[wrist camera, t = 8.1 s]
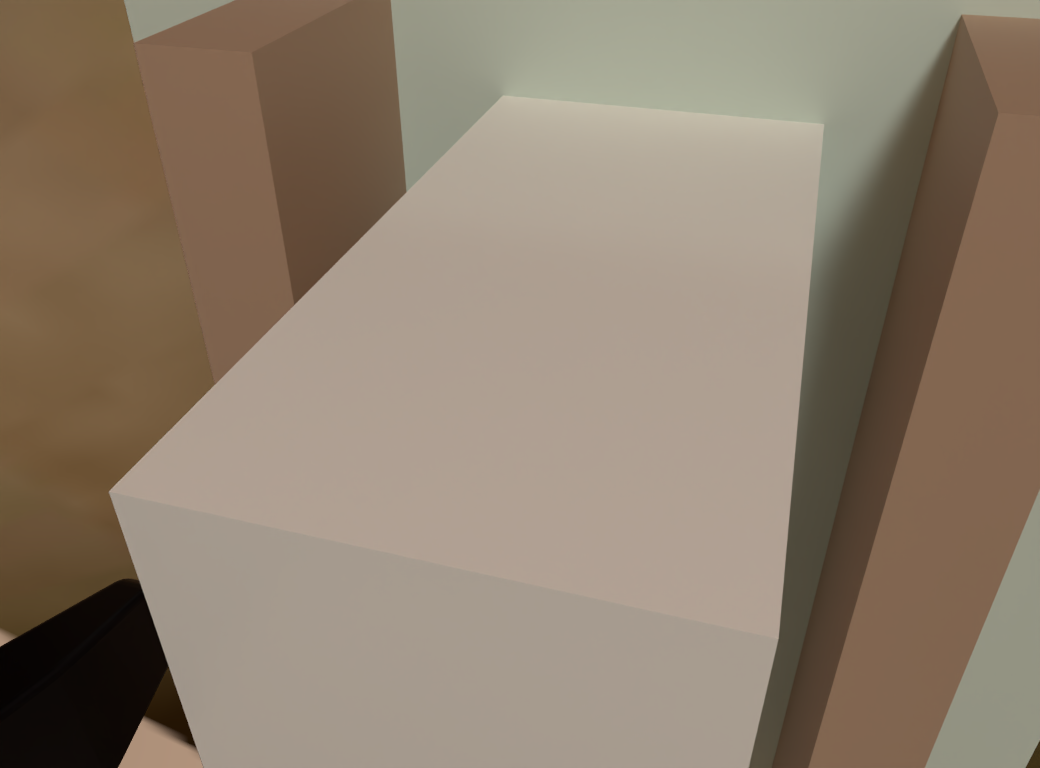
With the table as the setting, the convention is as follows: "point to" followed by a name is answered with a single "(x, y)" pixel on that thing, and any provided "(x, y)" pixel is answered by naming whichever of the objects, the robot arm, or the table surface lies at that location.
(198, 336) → the table surface
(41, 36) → the table surface
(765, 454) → the grey rectangular block
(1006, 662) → the slotted stand
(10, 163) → the table surface
